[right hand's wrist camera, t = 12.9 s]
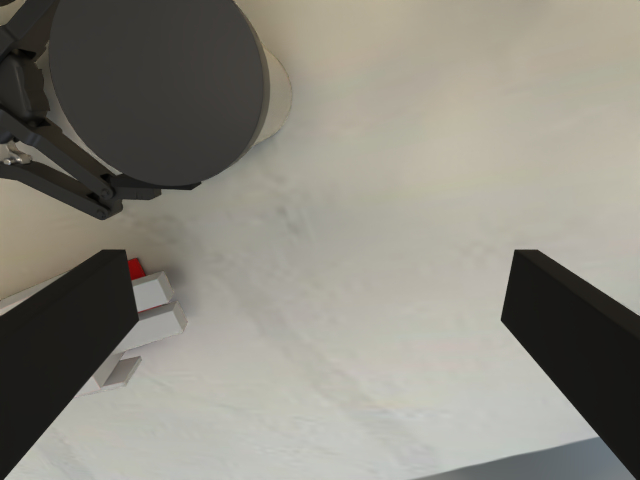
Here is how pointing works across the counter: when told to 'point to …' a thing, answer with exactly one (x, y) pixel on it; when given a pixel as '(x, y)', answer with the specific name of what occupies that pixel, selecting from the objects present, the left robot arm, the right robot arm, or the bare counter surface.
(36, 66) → the left robot arm
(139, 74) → the lid
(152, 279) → the toy
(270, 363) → the counter surface
